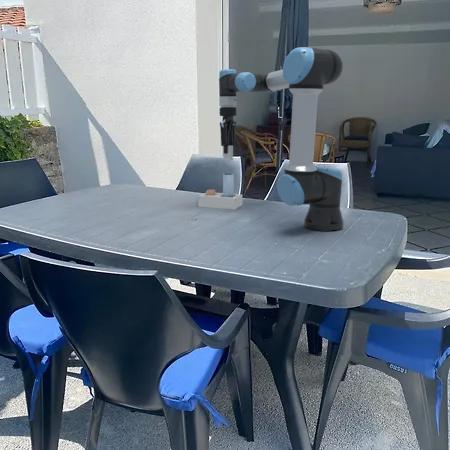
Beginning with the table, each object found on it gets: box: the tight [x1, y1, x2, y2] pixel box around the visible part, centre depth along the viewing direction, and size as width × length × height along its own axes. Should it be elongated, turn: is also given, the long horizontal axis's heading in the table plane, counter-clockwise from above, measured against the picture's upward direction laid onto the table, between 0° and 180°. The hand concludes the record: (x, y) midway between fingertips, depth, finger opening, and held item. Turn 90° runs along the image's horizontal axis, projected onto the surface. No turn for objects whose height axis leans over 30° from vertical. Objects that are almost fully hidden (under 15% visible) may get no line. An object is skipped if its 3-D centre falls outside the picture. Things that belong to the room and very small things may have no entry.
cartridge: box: [222, 171, 235, 197], centre depth 198 cm, size 5×5×16 cm
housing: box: [198, 192, 243, 210], centre depth 201 cm, size 10×18×6 cm, turn 67°
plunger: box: [205, 189, 216, 196], centre depth 202 cm, size 4×4×6 cm
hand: (228, 160), depth 194 cm, fingers open, 3 cm apart
